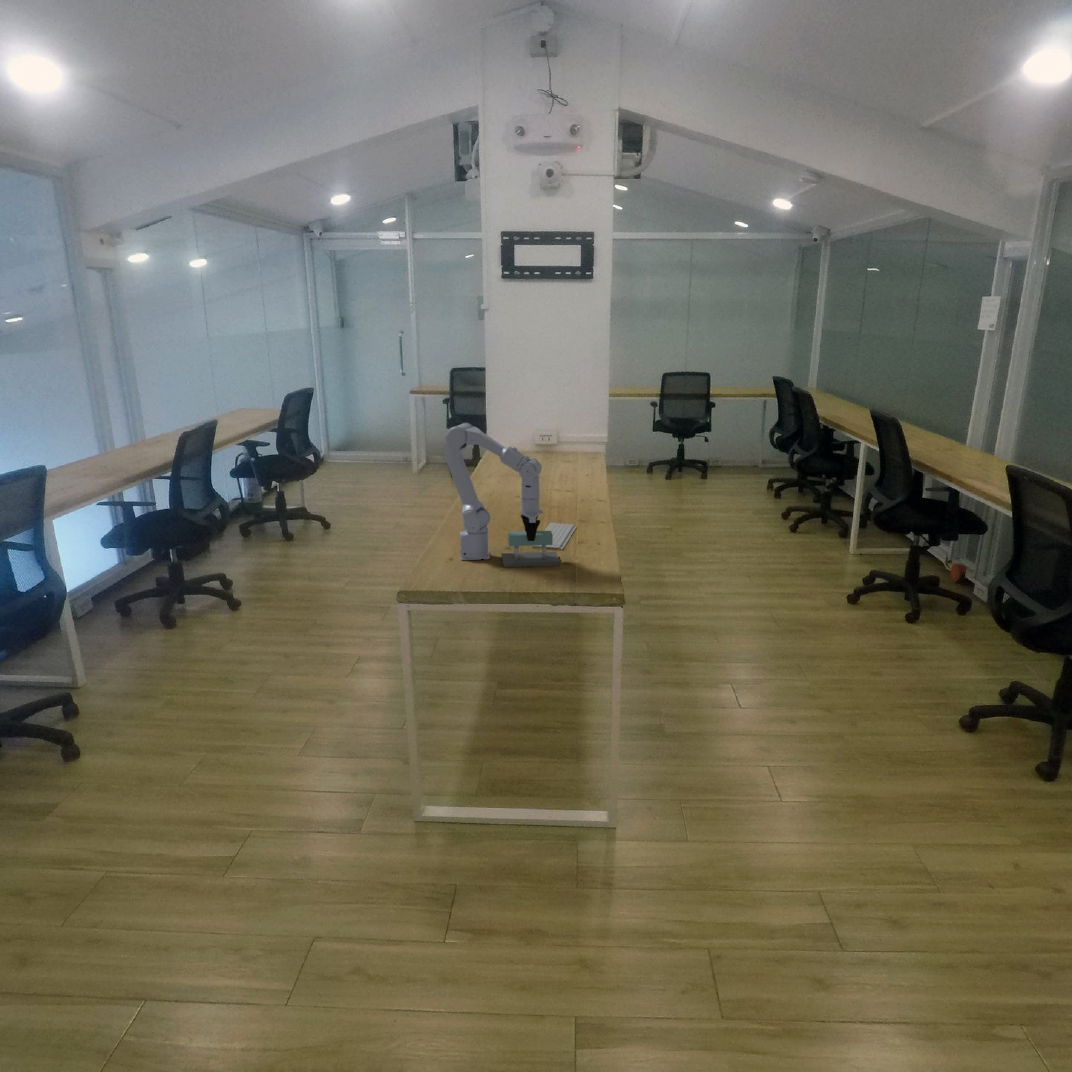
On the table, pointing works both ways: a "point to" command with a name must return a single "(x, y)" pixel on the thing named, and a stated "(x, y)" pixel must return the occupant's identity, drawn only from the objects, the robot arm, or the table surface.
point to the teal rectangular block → (522, 540)
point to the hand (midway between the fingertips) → (530, 538)
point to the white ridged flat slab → (559, 535)
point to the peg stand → (530, 558)
